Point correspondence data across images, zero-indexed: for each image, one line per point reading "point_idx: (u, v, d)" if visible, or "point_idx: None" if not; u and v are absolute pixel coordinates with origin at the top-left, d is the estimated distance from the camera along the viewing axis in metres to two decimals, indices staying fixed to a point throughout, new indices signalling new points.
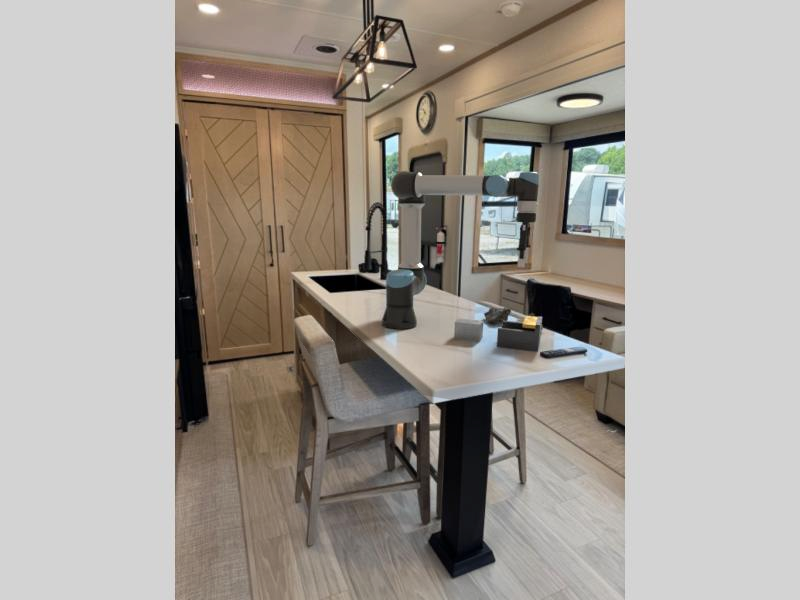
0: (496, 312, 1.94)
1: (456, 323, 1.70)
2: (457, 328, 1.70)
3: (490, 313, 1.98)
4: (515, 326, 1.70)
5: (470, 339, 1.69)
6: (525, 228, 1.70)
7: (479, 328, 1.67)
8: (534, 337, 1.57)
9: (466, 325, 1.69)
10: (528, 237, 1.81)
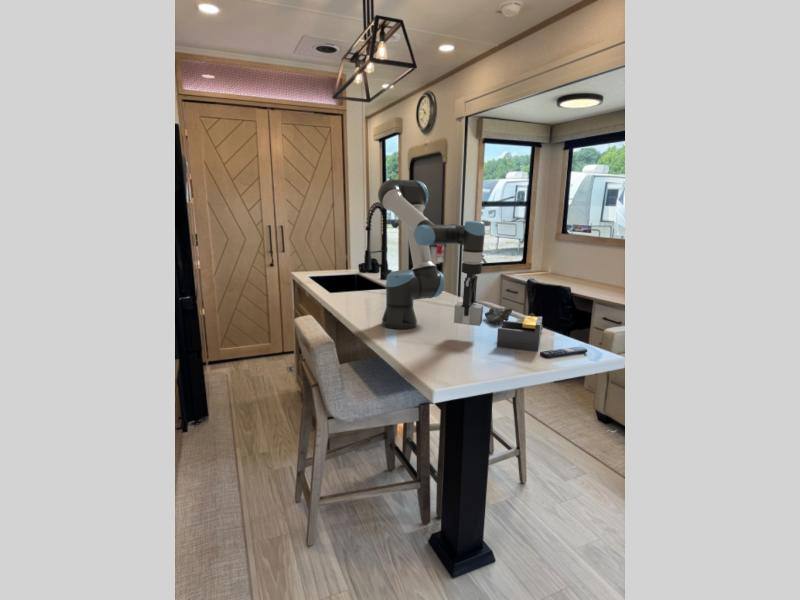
0: (498, 312, 1.94)
1: (456, 306, 1.69)
2: (456, 312, 1.69)
3: (491, 313, 1.98)
4: (515, 326, 1.70)
5: (470, 323, 1.68)
6: (468, 285, 1.62)
7: (479, 312, 1.66)
8: (534, 337, 1.57)
9: None
10: (474, 290, 1.71)
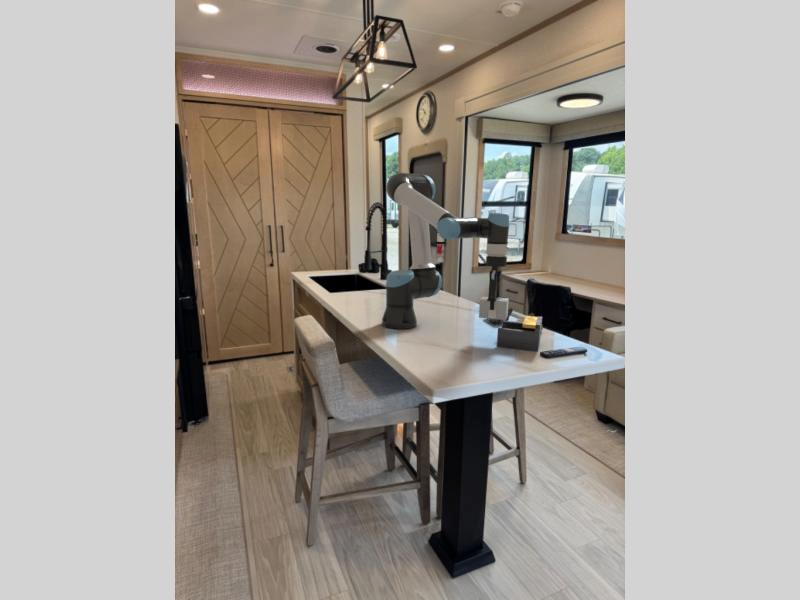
0: None
1: (481, 301, 1.65)
2: (482, 306, 1.65)
3: None
4: (515, 326, 1.70)
5: (496, 317, 1.64)
6: (494, 278, 1.58)
7: (505, 305, 1.62)
8: (534, 337, 1.57)
9: None
10: (499, 283, 1.67)
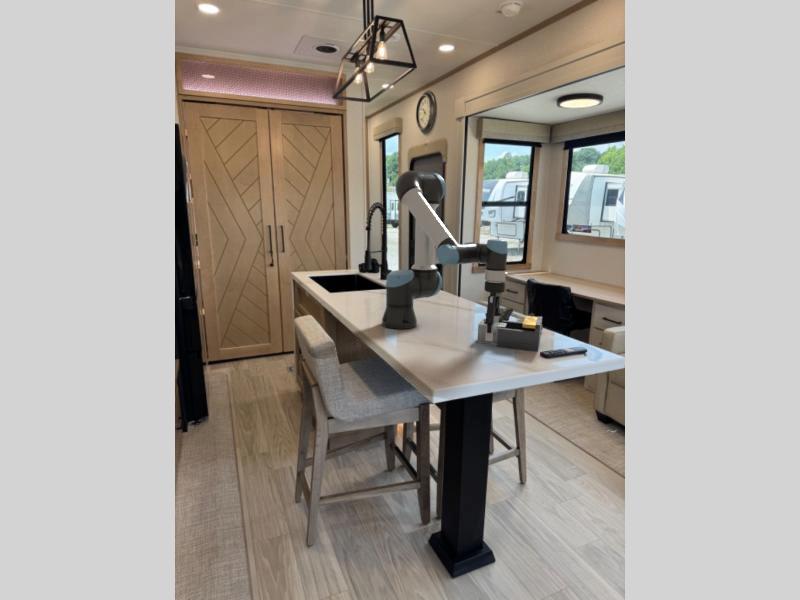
0: None
1: (480, 326, 1.67)
2: (480, 331, 1.67)
3: None
4: (515, 326, 1.70)
5: (494, 342, 1.66)
6: (492, 301, 1.59)
7: None
8: (534, 337, 1.57)
9: None
10: (498, 306, 1.70)
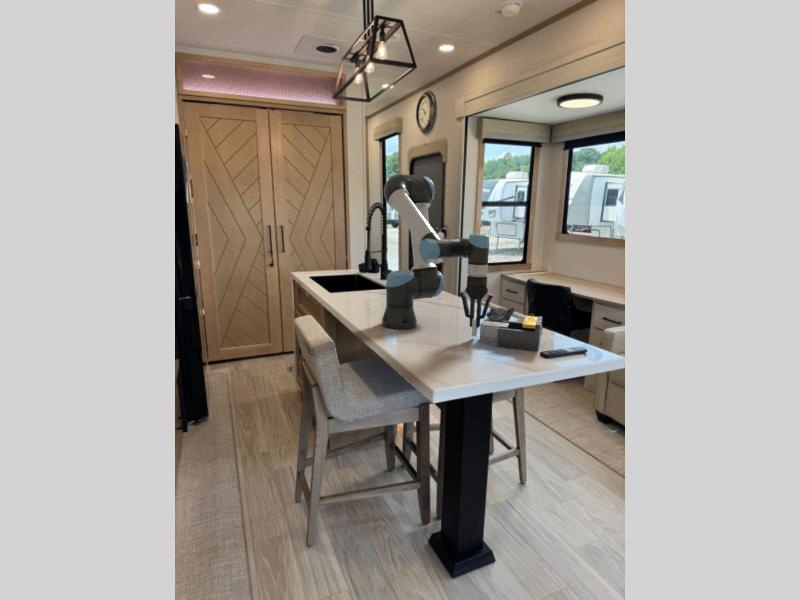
0: (501, 312, 1.95)
1: (482, 325, 1.66)
2: (482, 331, 1.67)
3: (494, 313, 1.98)
4: (515, 326, 1.70)
5: (496, 342, 1.66)
6: None
7: None
8: (534, 337, 1.57)
9: (492, 327, 1.65)
10: (477, 304, 1.67)
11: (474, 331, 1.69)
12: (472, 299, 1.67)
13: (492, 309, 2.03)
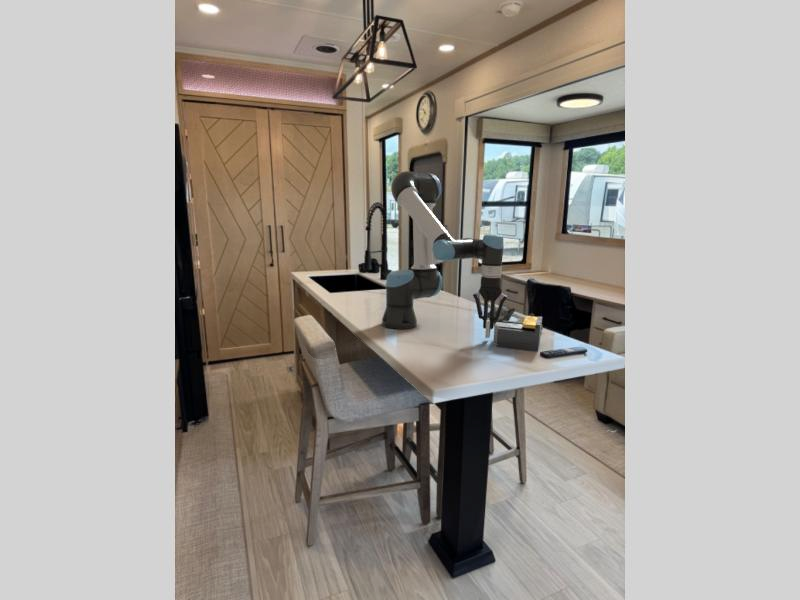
0: (501, 312, 1.95)
1: (496, 327, 1.65)
2: (496, 332, 1.65)
3: None
4: None
5: None
6: None
7: None
8: (534, 337, 1.57)
9: None
10: (491, 306, 1.65)
11: (488, 333, 1.68)
12: (486, 300, 1.65)
13: None
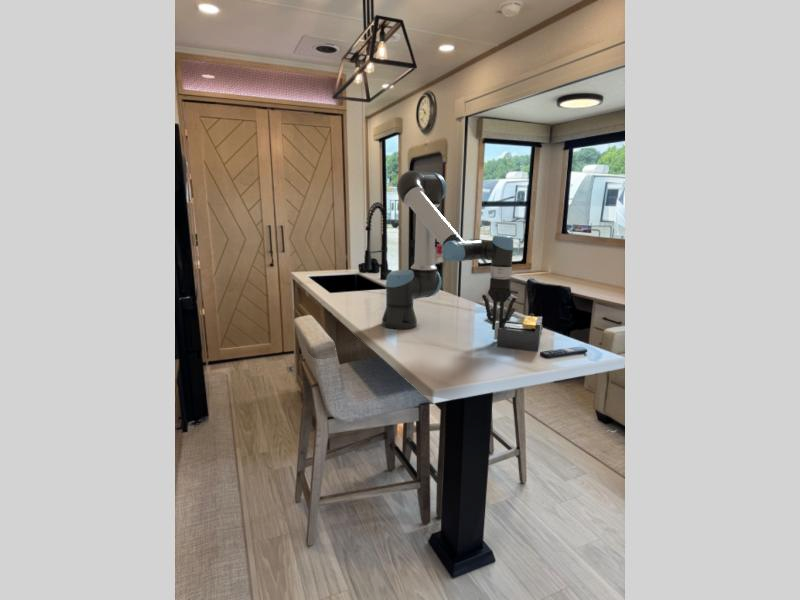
0: None
1: None
2: None
3: None
4: None
5: None
6: None
7: None
8: (534, 337, 1.57)
9: None
10: (500, 307, 1.64)
11: (497, 334, 1.67)
12: (495, 302, 1.64)
13: (492, 309, 2.03)
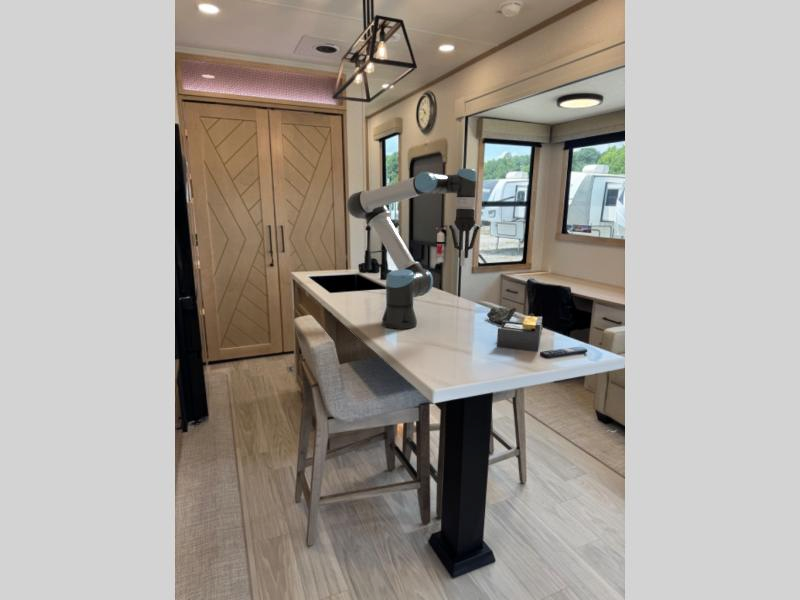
0: (503, 312, 1.95)
1: None
2: None
3: (495, 313, 1.98)
4: None
5: None
6: None
7: None
8: (534, 337, 1.57)
9: None
10: (465, 236, 1.80)
11: (463, 261, 1.82)
12: (460, 231, 1.80)
13: (493, 309, 2.03)
